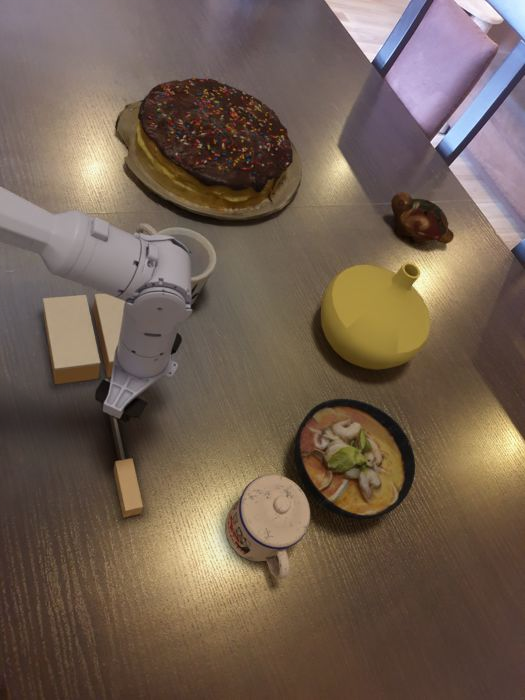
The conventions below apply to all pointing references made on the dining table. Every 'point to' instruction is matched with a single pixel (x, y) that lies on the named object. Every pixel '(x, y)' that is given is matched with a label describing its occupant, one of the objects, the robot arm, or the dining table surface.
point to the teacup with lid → (268, 521)
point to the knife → (125, 477)
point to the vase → (375, 316)
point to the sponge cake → (81, 335)
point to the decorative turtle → (420, 220)
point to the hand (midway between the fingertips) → (134, 392)
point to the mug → (191, 253)
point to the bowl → (353, 459)
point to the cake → (210, 150)
